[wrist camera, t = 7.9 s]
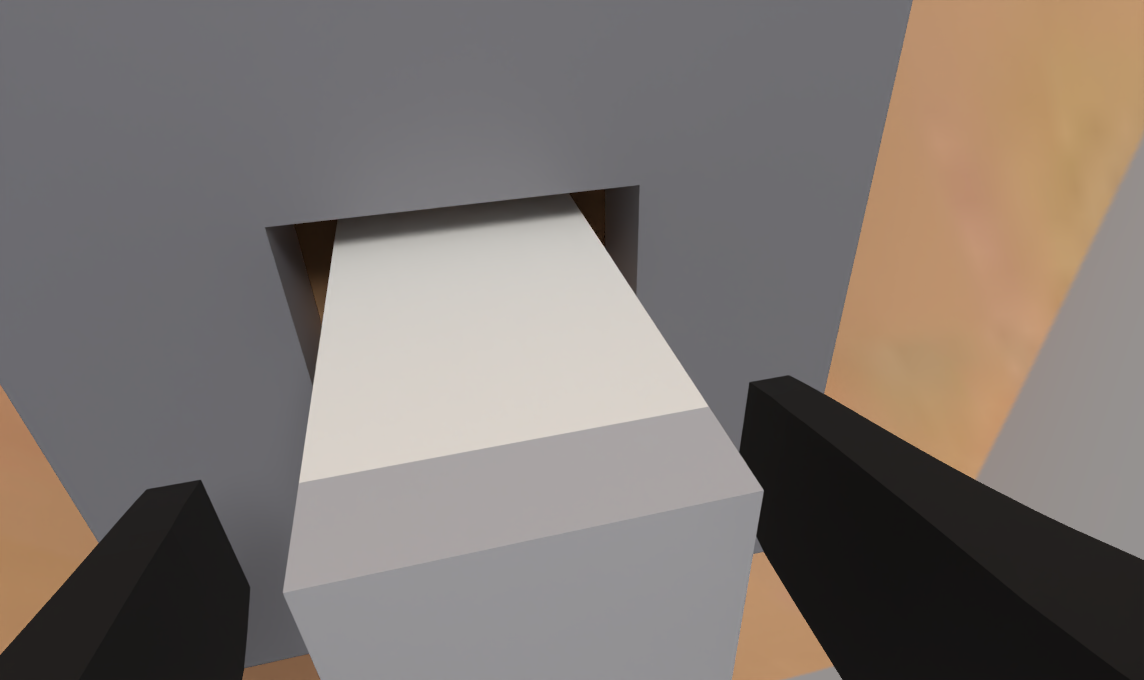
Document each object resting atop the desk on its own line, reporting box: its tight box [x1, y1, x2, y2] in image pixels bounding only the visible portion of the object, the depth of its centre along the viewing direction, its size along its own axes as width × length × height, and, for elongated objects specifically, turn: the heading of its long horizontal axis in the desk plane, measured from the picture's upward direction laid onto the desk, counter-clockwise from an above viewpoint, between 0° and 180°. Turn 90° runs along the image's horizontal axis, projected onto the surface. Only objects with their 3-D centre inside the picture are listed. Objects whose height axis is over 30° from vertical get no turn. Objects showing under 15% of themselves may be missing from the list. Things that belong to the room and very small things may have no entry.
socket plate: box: [0, 0, 913, 668], centre depth 12 cm, size 14×14×3 cm
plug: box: [283, 193, 764, 680], centre depth 10 cm, size 4×4×8 cm
